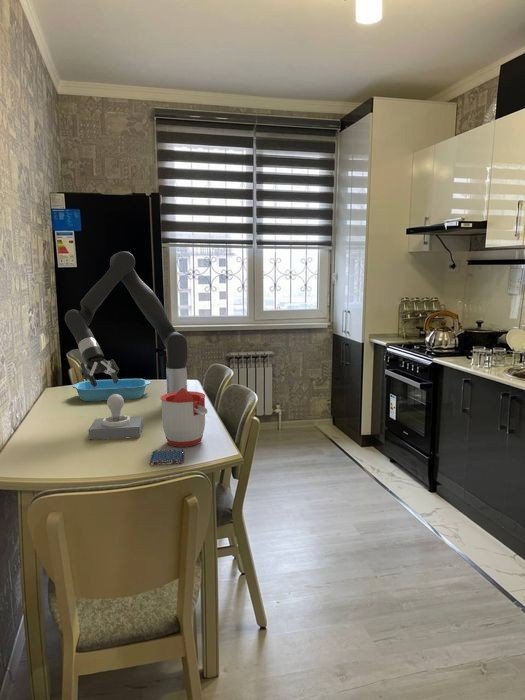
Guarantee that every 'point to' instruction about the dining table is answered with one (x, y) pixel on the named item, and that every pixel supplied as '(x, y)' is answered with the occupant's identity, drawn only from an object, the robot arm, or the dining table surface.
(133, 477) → the dining table surface
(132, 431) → the grey ring holder base
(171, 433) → the citrus juicer
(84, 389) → the casserole dish
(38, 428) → the dining table surface
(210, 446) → the dining table surface
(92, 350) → the robot arm
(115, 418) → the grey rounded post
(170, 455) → the woven mat
